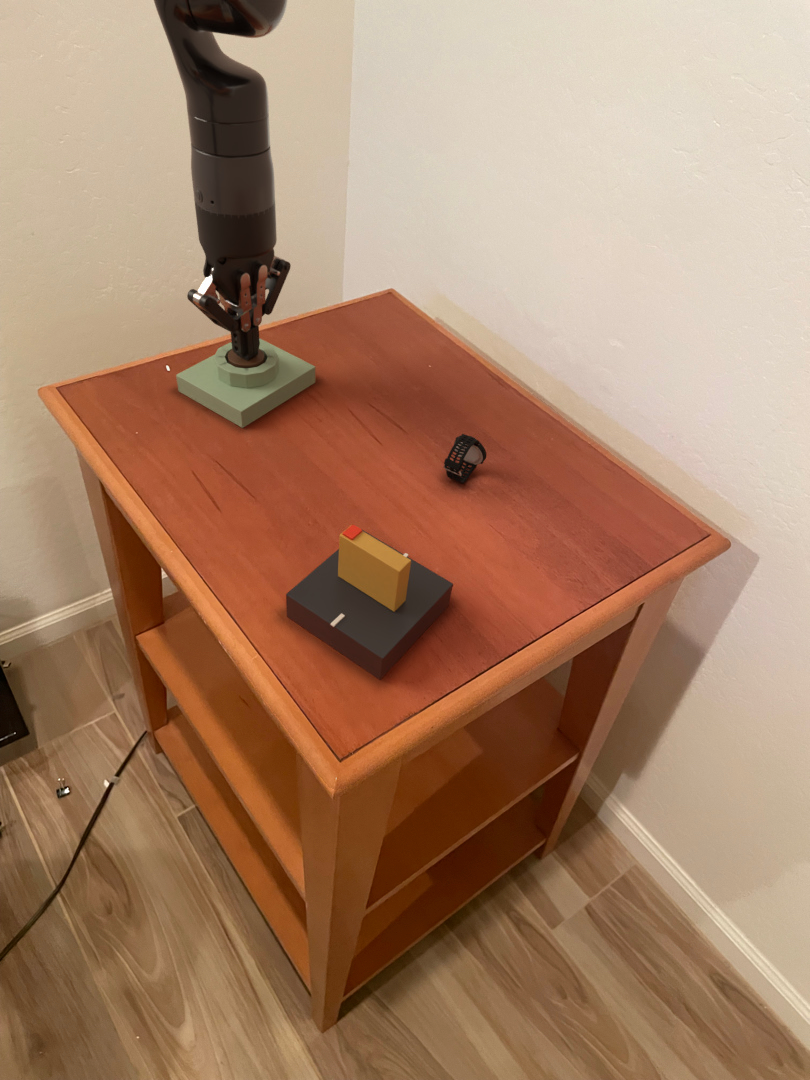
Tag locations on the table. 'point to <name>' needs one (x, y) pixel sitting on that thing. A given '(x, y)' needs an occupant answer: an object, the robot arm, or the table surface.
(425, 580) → the plate
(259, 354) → the bell button
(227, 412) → the doorbell
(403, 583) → the lock knob
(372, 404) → the table surface
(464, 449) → the smartwatch
